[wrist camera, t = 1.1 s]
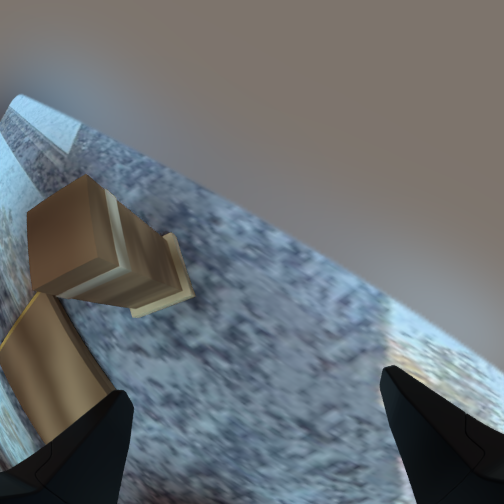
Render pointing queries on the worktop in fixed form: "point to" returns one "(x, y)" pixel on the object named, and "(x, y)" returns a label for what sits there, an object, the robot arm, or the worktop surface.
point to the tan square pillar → (103, 252)
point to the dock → (51, 367)
